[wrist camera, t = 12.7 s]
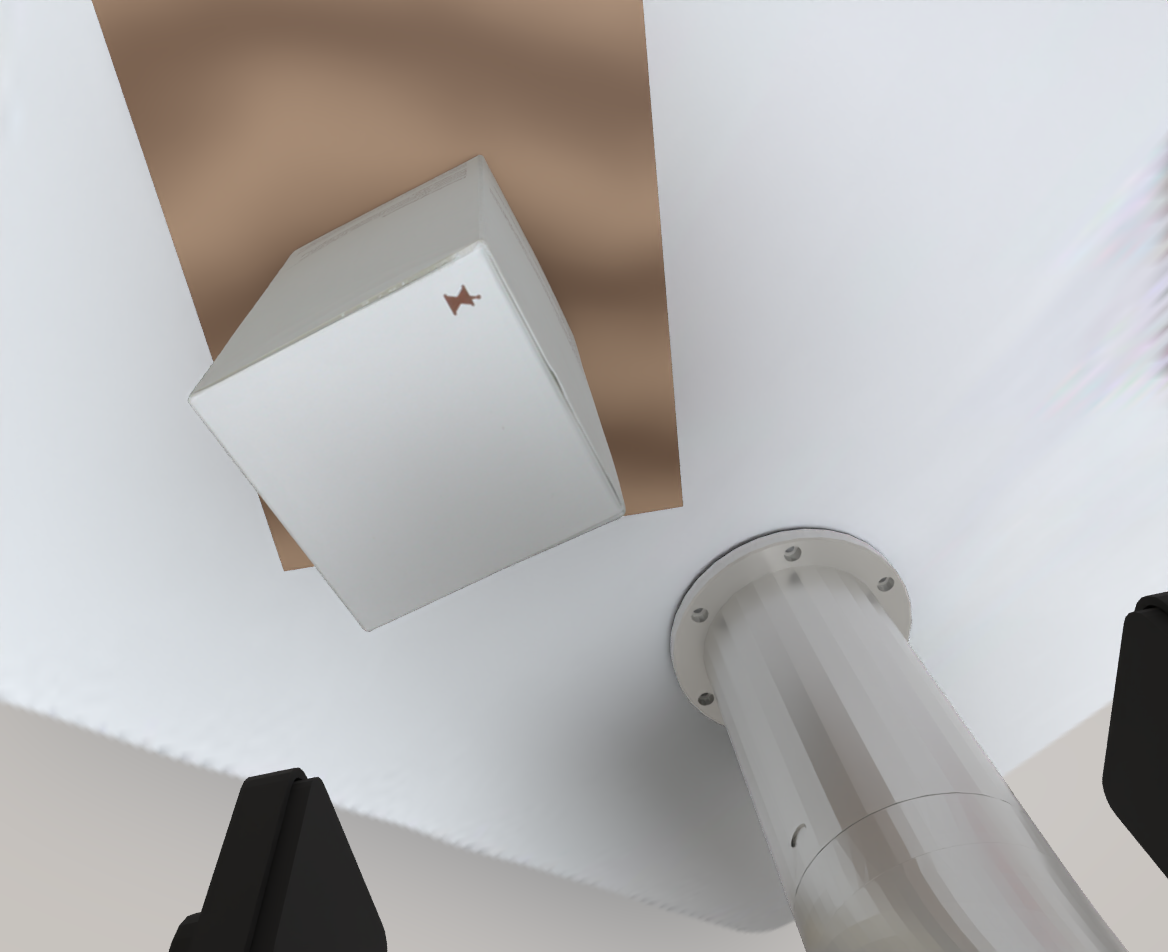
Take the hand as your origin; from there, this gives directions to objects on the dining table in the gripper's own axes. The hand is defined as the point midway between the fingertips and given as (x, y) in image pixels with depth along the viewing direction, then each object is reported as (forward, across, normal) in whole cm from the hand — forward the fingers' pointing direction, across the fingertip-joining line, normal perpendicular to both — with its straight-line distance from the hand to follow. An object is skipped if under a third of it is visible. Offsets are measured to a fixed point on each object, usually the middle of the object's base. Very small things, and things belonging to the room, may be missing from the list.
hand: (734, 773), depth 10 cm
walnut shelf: (+29, +5, -1) cm, 29 cm away
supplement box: (+23, +4, 0) cm, 24 cm away
